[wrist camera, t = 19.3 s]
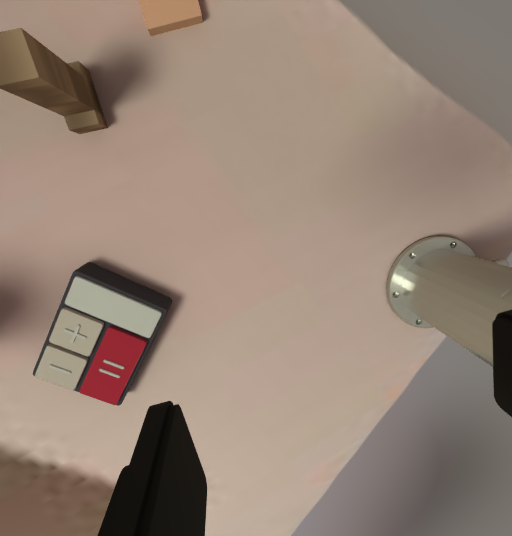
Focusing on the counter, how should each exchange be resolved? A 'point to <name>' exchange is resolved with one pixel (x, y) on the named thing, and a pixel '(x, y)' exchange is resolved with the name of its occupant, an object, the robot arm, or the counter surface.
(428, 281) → the robot arm
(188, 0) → the tile
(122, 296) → the calculator
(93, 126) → the tan stepped block
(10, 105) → the counter surface
